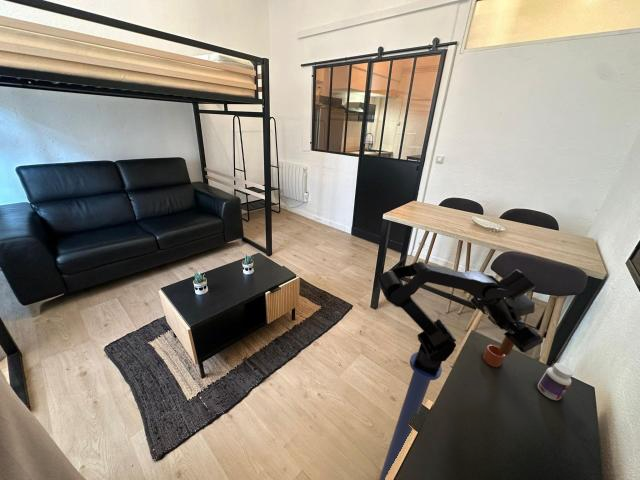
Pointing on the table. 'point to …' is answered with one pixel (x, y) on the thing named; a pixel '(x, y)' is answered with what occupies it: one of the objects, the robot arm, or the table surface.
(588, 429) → the table surface
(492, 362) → the pot
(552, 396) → the pill bottle
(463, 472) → the table surface
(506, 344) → the spice bottle
